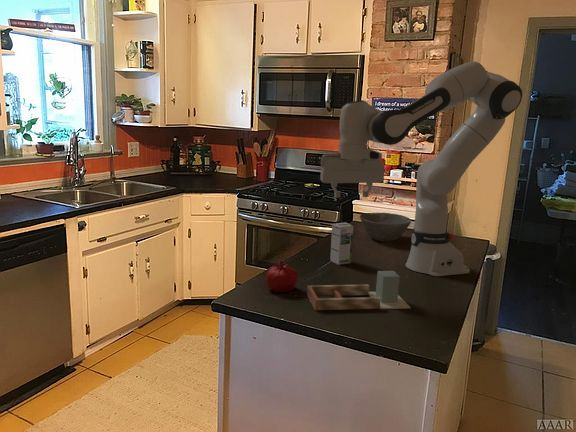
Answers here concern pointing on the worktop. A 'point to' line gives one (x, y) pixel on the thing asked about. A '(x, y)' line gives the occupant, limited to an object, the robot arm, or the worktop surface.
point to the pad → (392, 303)
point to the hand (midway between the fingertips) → (351, 197)
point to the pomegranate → (281, 278)
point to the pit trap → (319, 296)
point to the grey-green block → (387, 286)
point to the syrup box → (341, 243)
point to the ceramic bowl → (384, 225)
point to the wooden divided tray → (346, 302)
